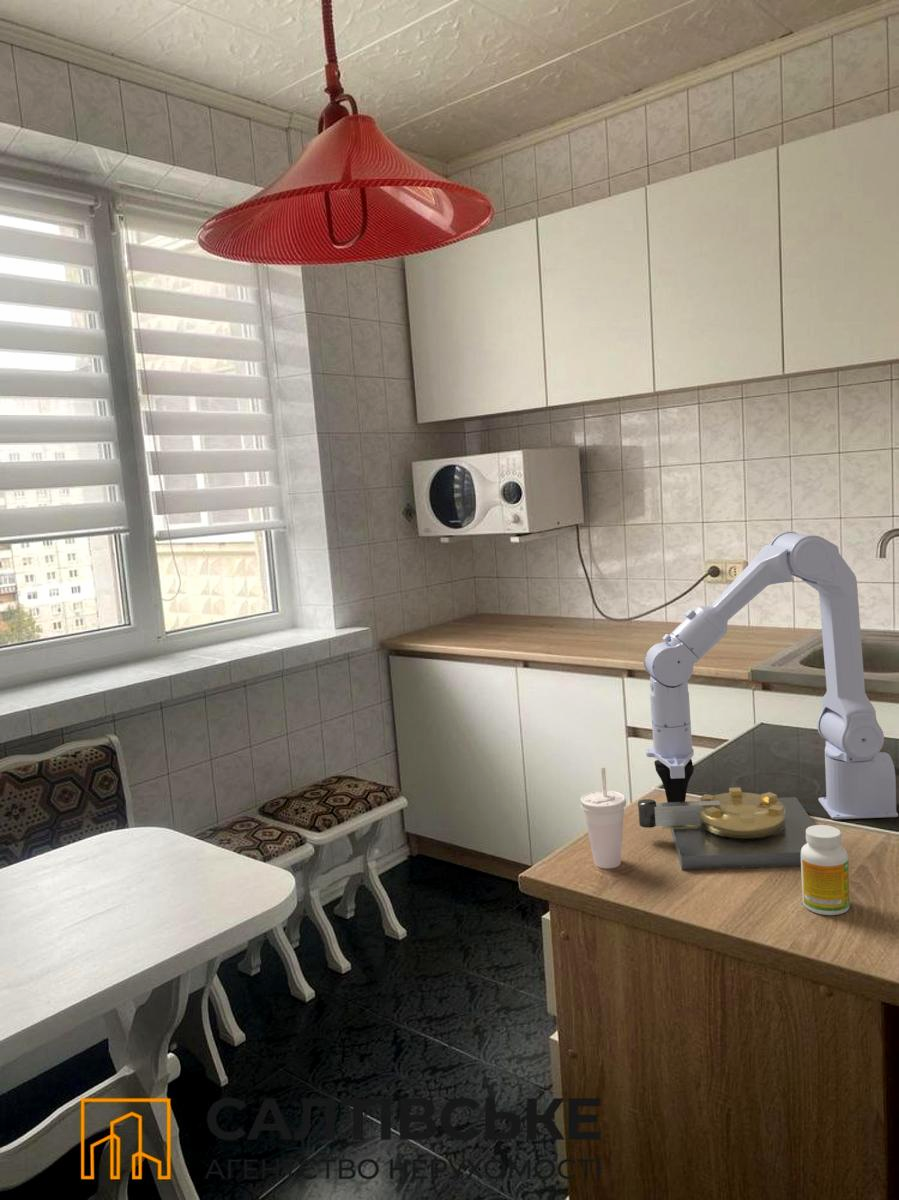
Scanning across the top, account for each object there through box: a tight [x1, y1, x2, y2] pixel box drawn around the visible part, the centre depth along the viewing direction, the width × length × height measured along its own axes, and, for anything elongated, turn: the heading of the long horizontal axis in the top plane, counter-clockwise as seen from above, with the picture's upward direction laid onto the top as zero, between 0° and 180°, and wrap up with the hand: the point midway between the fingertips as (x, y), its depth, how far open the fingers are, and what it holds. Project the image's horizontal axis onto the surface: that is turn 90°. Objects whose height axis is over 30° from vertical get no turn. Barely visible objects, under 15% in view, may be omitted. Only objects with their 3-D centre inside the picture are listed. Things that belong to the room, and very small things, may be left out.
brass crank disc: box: [637, 787, 786, 838], centre depth 132 cm, size 21×12×3 cm, turn 81°
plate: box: [661, 796, 816, 871], centre depth 132 cm, size 22×20×2 cm
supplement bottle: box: [800, 824, 851, 916], centre depth 110 cm, size 5×5×10 cm
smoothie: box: [580, 766, 627, 870], centre depth 127 cm, size 6×6×14 cm
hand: (676, 807), depth 138 cm, fingers closed
